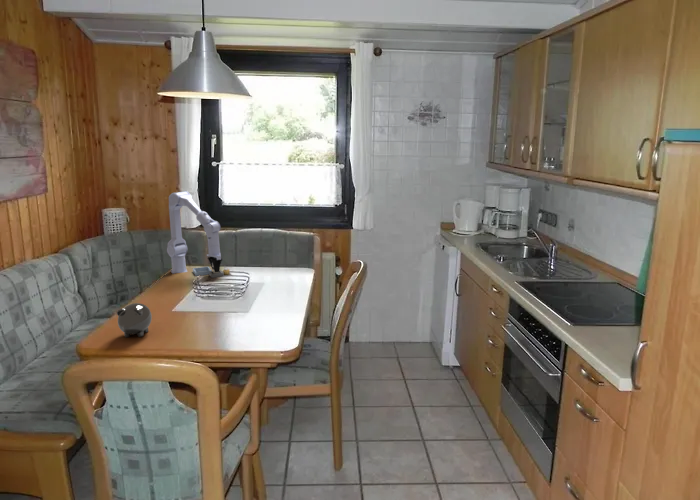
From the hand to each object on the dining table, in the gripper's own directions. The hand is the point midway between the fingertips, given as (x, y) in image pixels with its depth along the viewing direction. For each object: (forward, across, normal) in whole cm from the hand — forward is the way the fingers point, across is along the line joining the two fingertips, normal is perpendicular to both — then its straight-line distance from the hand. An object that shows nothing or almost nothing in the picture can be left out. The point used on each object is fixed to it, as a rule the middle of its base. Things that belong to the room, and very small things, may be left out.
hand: (215, 271), depth 276 cm
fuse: (+2, 0, 0) cm, 2 cm away
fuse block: (+3, 0, +2) cm, 4 cm away
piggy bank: (+3, +66, -51) cm, 83 cm away
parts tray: (+3, -11, -4) cm, 12 cm away
